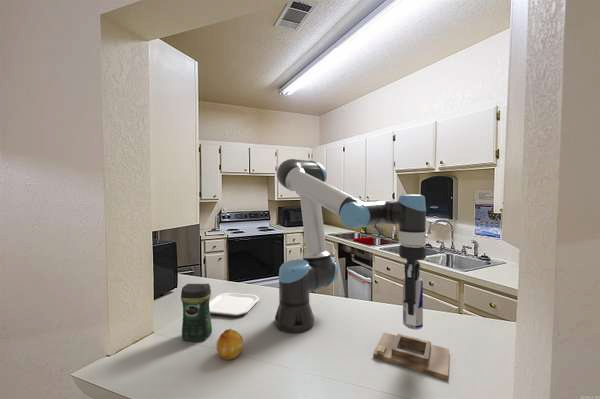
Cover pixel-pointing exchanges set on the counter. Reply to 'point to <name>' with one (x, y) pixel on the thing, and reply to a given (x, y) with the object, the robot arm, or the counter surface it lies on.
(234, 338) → the fruit
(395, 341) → the socket plate
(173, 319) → the counter surface
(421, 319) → the beverage can
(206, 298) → the coffee jar
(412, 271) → the robot arm
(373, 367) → the counter surface
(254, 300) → the plate
